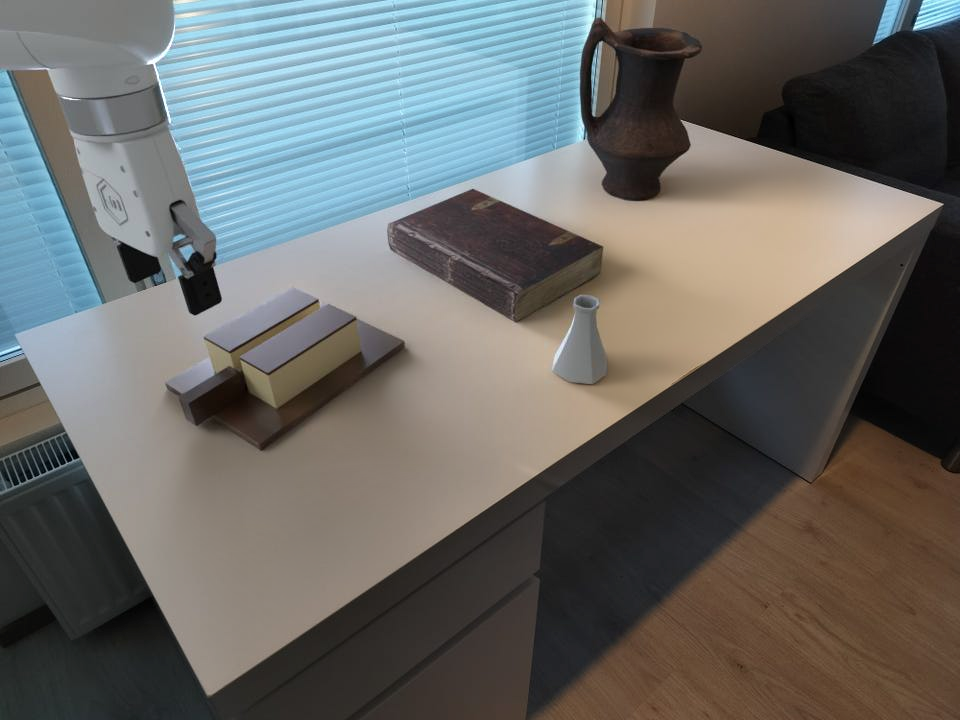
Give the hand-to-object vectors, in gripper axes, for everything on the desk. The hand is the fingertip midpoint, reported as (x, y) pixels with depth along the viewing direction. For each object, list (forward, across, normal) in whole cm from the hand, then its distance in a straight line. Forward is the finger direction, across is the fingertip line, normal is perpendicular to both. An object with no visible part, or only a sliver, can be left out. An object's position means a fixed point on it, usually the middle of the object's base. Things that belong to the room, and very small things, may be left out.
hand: (175, 291), depth 65 cm
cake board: (+20, -4, +14) cm, 24 cm away
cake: (+20, -4, +14) cm, 24 cm away
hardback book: (+20, +1, +51) cm, 54 cm away
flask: (+20, +26, +36) cm, 48 cm away
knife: (+19, -4, +7) cm, 20 cm away
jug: (+19, +5, +89) cm, 91 cm away
